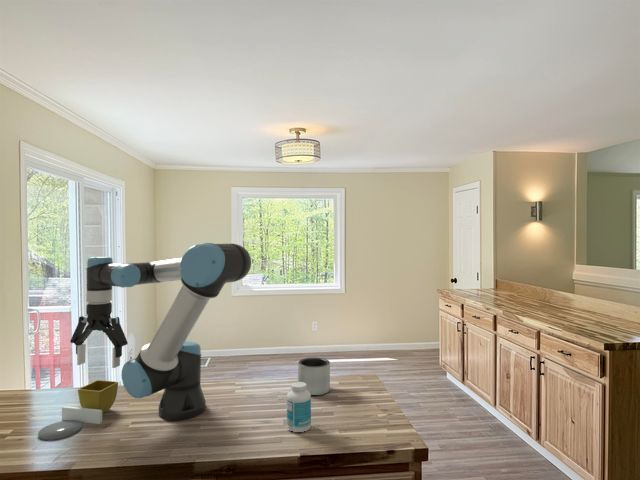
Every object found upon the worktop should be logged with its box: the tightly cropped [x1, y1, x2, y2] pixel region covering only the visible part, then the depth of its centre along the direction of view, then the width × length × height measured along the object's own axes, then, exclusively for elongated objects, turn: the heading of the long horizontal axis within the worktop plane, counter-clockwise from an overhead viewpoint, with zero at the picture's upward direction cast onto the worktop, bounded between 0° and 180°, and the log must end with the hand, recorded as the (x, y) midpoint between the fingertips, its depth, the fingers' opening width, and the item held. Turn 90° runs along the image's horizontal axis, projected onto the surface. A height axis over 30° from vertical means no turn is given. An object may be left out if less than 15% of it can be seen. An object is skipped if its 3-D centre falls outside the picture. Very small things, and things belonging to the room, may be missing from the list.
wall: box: [61, 405, 103, 425], centre depth 124 cm, size 14×1×4 cm, turn 79°
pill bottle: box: [286, 381, 312, 433], centre depth 121 cm, size 8×7×14 cm
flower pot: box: [77, 379, 119, 414], centre depth 131 cm, size 9×9×9 cm
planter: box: [297, 357, 331, 396], centre depth 151 cm, size 13×12×11 cm
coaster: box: [37, 420, 83, 441], centre depth 118 cm, size 11×11×1 cm
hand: (98, 365), depth 132 cm, fingers open, 13 cm apart
